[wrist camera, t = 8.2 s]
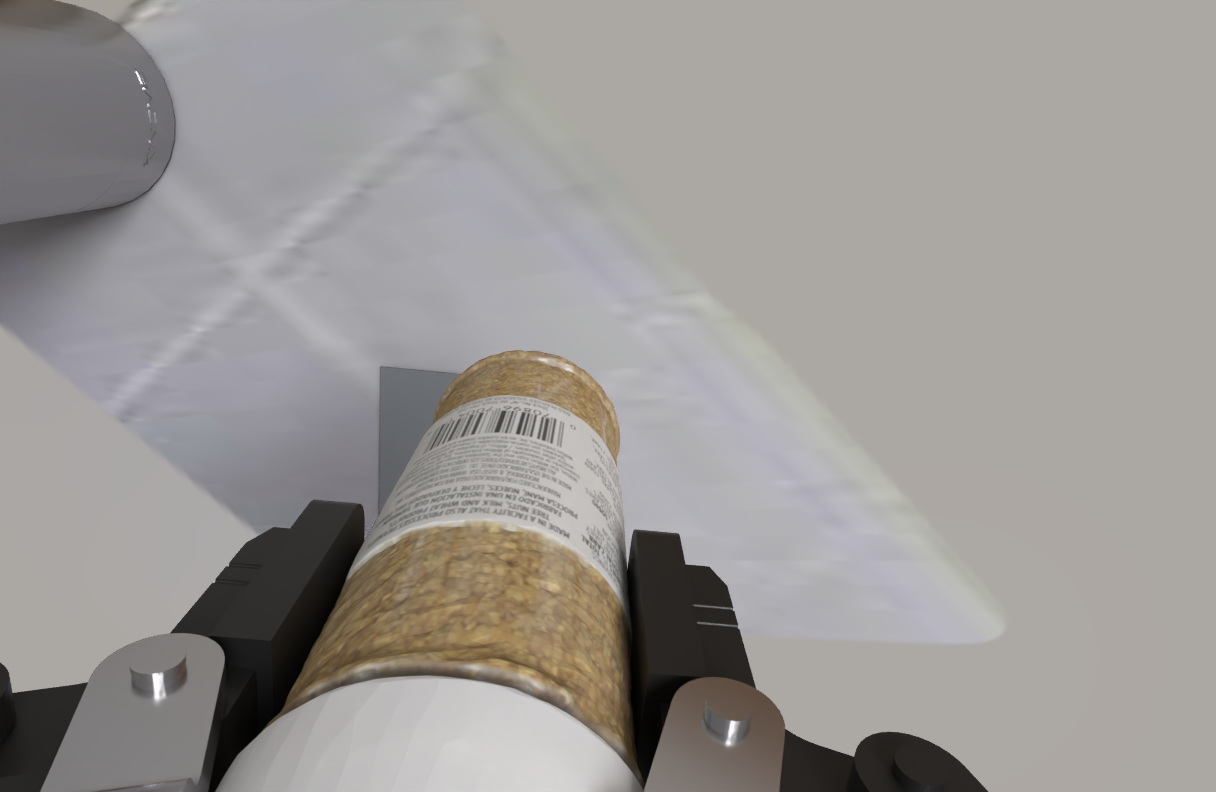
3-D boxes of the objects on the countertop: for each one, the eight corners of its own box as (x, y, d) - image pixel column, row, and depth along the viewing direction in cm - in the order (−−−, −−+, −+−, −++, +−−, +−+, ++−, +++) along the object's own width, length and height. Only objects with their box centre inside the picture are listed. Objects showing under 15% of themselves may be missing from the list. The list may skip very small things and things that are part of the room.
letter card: (379, 515, 45) (378, 516, 45) (381, 366, 42) (380, 367, 42) (535, 529, 45) (535, 530, 45) (548, 382, 42) (547, 383, 42)
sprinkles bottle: (420, 495, 19) (90, 1193, 7) (453, 323, 18) (113, 796, 5) (598, 533, 20) (603, 1257, 7) (644, 367, 18) (752, 906, 6)
